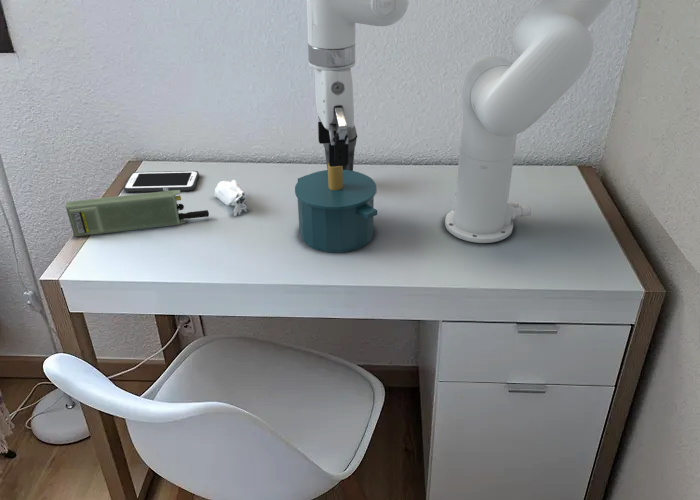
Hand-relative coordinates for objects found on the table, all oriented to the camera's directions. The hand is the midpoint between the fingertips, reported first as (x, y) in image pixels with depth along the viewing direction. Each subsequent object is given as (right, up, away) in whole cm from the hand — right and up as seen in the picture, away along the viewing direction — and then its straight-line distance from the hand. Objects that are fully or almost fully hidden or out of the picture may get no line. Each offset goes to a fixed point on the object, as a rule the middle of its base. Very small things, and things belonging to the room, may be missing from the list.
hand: (332, 153), depth 114 cm
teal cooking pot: (+1, -14, +9) cm, 16 cm away
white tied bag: (-21, -8, +19) cm, 29 cm away
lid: (0, -6, +4) cm, 7 cm away
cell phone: (-37, -3, +26) cm, 46 cm away
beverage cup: (+1, -4, +24) cm, 25 cm away
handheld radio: (-36, -12, +12) cm, 40 cm away
